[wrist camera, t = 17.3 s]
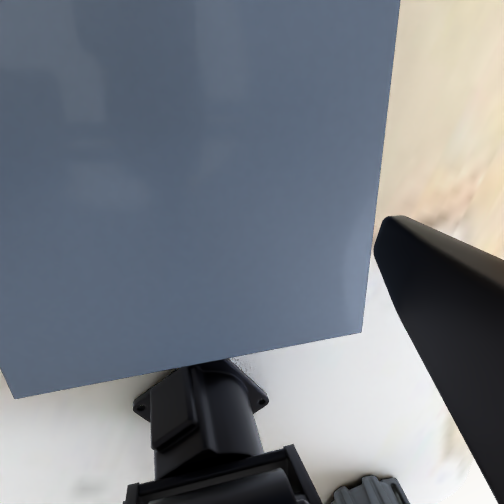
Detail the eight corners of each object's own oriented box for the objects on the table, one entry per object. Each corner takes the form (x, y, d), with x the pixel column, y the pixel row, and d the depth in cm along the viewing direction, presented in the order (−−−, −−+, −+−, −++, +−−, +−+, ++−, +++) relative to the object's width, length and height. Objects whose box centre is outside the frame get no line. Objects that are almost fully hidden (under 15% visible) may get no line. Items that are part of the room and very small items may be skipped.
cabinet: (-82, -105, 13) (-270, -217, 7) (315, -101, 16) (422, -182, 10) (51, 292, 21) (13, 400, 15) (305, 253, 23) (361, 333, 17)
